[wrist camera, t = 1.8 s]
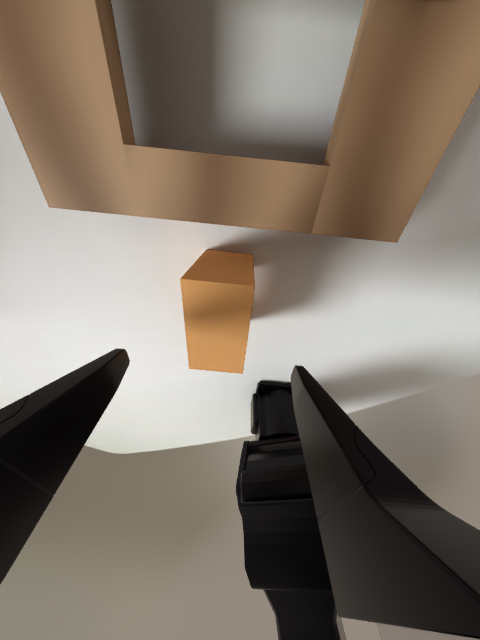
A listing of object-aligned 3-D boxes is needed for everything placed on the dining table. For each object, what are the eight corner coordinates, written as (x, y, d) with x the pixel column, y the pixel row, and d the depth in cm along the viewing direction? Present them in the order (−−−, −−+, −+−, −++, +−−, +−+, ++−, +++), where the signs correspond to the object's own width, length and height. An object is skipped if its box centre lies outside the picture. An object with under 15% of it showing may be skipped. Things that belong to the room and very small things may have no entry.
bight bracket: (252, 254, 16) (254, 286, 10) (244, 321, 19) (242, 373, 14) (206, 249, 15) (180, 278, 10) (207, 318, 19) (189, 368, 13)
